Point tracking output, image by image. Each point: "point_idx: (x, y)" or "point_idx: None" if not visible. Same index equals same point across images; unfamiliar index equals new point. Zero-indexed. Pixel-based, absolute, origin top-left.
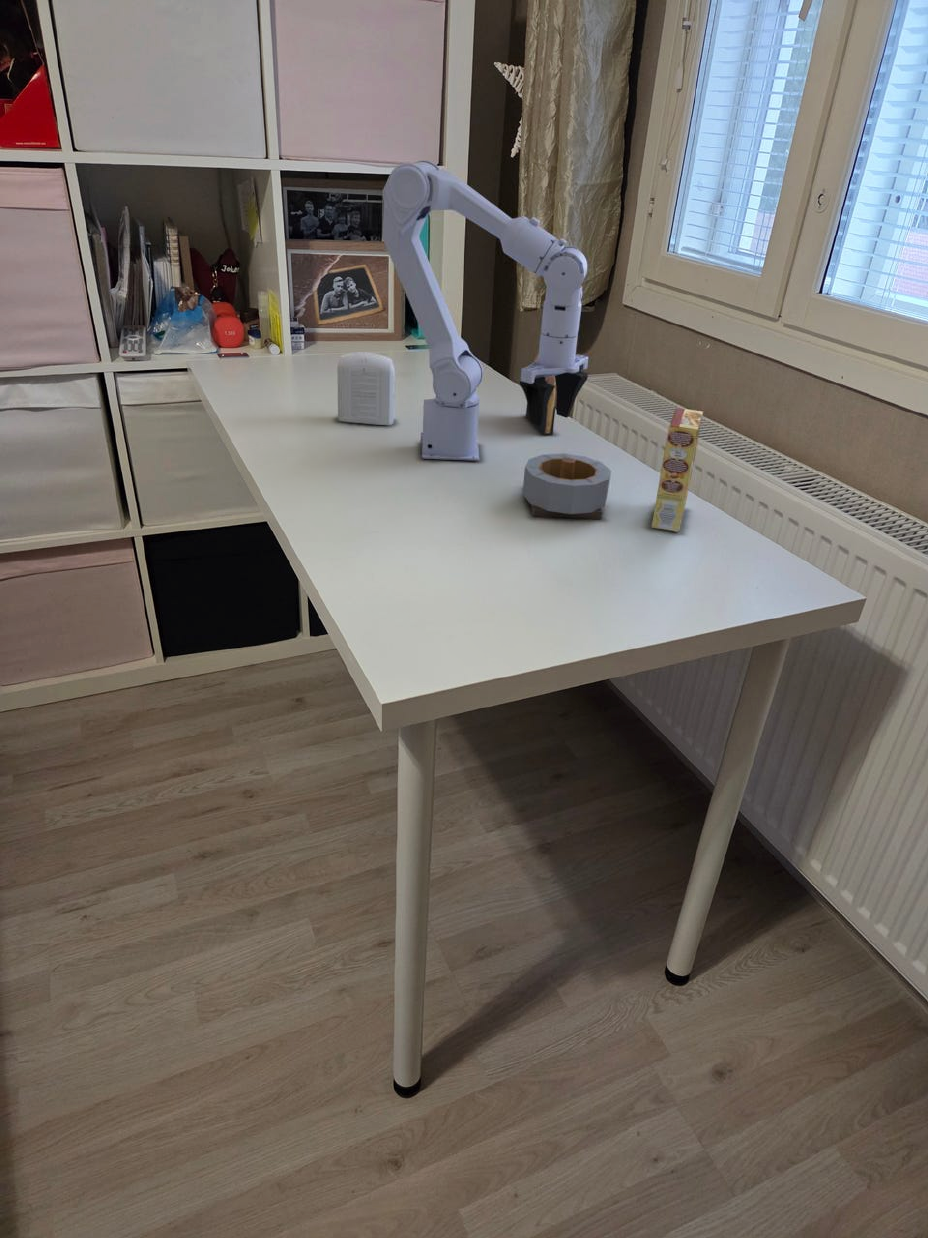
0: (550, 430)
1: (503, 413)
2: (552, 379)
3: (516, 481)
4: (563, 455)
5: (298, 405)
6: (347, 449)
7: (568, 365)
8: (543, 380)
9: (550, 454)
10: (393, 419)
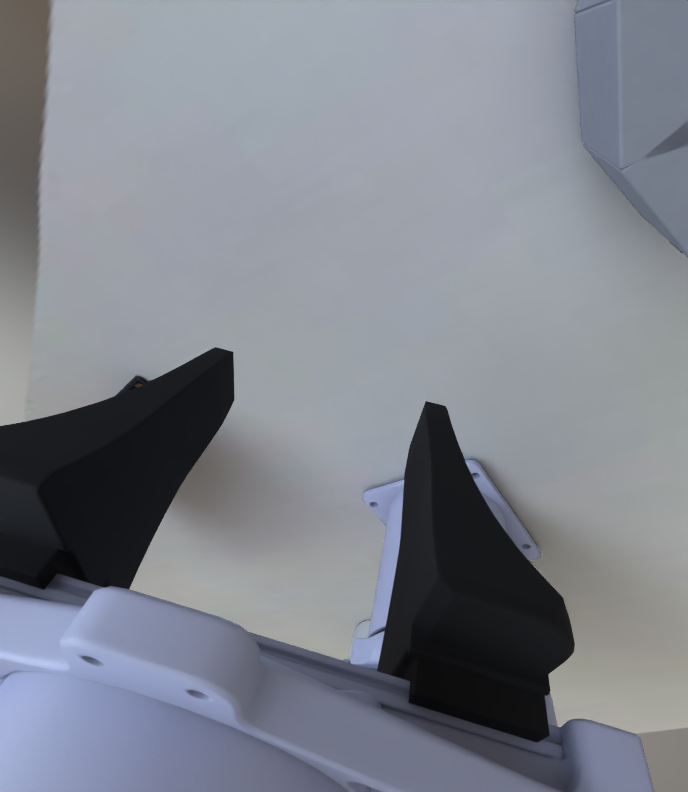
0: (133, 388)
1: None
2: None
3: (586, 312)
4: (670, 144)
5: None
6: None
7: (189, 739)
8: (437, 671)
9: (681, 226)
10: (368, 627)
